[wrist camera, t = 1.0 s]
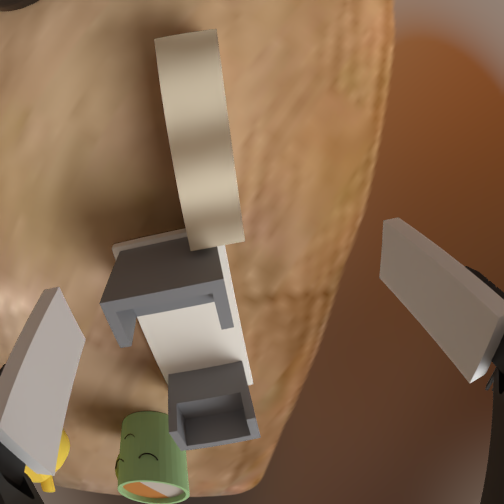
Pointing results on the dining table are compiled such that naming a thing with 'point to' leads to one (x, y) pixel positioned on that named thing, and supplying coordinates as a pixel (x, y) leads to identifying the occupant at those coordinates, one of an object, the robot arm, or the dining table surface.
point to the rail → (200, 137)
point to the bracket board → (186, 334)
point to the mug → (151, 461)
